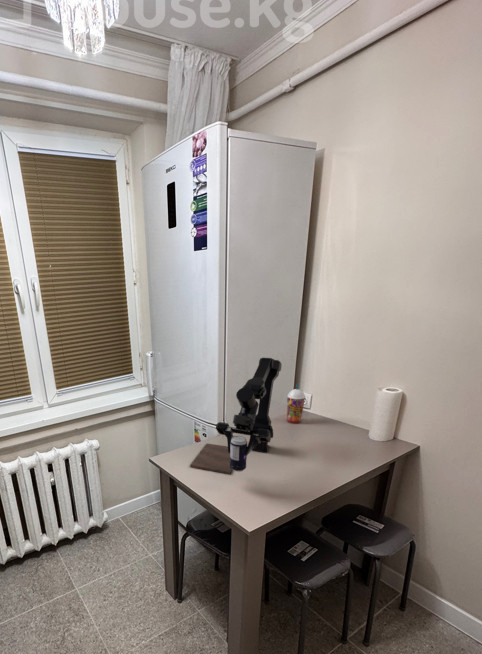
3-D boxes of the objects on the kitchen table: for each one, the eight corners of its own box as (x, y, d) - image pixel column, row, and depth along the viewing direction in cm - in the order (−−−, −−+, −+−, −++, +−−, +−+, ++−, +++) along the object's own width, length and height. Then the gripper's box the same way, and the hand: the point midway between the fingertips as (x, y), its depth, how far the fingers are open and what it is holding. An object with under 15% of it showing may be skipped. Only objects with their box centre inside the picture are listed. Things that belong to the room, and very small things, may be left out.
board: (206, 445, 163) (206, 443, 163) (241, 450, 156) (242, 448, 156) (190, 466, 145) (190, 464, 145) (229, 474, 138) (229, 472, 138)
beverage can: (245, 473, 125) (247, 442, 121) (229, 472, 127) (230, 441, 122) (246, 465, 130) (247, 435, 126) (230, 464, 132) (231, 434, 127)
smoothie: (286, 424, 181) (290, 386, 174) (283, 418, 189) (287, 381, 182) (304, 424, 180) (308, 386, 173) (300, 418, 188) (304, 381, 180)
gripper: (217, 401, 128) (206, 441, 123) (271, 407, 118) (261, 451, 114) (224, 414, 137) (214, 452, 132) (275, 421, 127) (265, 462, 123)
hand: (237, 454), depth 125 cm, fingers closed on beverage can, 5 cm apart
